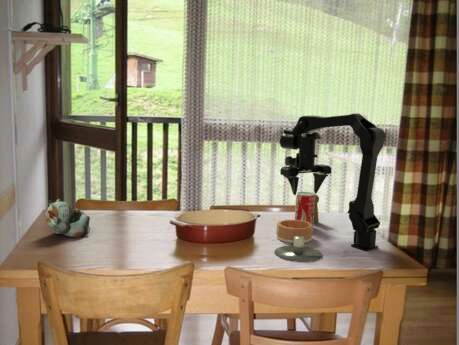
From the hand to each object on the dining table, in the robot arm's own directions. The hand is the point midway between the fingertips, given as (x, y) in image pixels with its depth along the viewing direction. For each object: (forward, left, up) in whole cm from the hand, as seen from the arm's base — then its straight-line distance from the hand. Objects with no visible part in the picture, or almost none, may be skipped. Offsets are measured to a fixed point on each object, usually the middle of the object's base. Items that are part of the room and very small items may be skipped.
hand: (305, 194), depth 190 cm
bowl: (-4, +9, -14) cm, 17 cm away
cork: (+7, -12, -14) cm, 20 cm away
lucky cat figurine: (+40, +72, -14) cm, 84 cm away
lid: (-17, +20, -14) cm, 30 cm away
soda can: (+4, -4, -14) cm, 15 cm away
